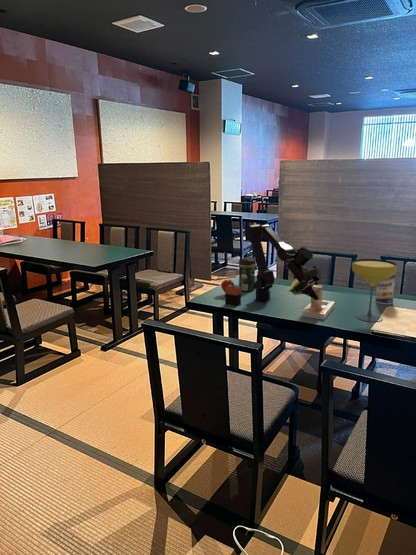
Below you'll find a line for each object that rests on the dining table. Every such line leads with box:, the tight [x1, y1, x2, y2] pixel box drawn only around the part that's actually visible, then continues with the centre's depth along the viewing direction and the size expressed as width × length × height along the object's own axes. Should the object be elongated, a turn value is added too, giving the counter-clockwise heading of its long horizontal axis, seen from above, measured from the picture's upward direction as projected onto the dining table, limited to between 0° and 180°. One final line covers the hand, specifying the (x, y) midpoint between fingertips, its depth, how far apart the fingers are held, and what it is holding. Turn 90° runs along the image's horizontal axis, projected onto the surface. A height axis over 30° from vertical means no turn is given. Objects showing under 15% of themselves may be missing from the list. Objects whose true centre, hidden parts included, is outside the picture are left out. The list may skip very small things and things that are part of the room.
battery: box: [224, 284, 242, 307], centre depth 200 cm, size 4×7×10 cm, turn 59°
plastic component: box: [289, 279, 299, 291], centre depth 231 cm, size 20×7×10 cm
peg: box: [310, 284, 324, 312], centre depth 183 cm, size 4×4×12 cm
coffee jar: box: [238, 256, 256, 293], centre depth 225 cm, size 10×8×19 cm
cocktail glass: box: [351, 258, 398, 323], centre depth 178 cm, size 18×18×25 cm
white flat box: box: [301, 299, 336, 321], centre depth 190 cm, size 10×21×3 cm, turn 151°
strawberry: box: [220, 278, 235, 293], centre depth 216 cm, size 6×8×10 cm
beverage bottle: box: [374, 274, 396, 305], centre depth 201 cm, size 8×8×20 cm
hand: (319, 298), depth 182 cm, fingers closed on peg, 4 cm apart
